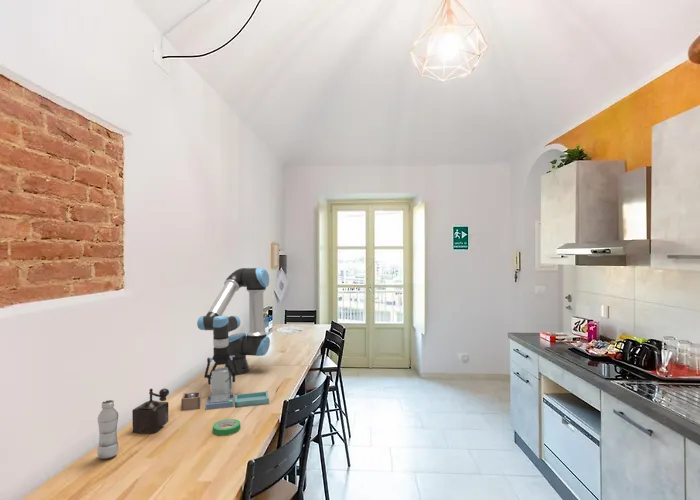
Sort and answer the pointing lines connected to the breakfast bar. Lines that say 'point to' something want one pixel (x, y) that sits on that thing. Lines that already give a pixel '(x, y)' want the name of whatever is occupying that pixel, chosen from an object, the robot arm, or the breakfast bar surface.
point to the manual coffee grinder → (151, 414)
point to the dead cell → (191, 395)
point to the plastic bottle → (107, 431)
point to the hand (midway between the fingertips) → (221, 389)
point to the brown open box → (191, 402)
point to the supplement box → (221, 381)
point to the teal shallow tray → (251, 399)
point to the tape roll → (226, 431)
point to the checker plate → (220, 398)
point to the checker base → (219, 405)
